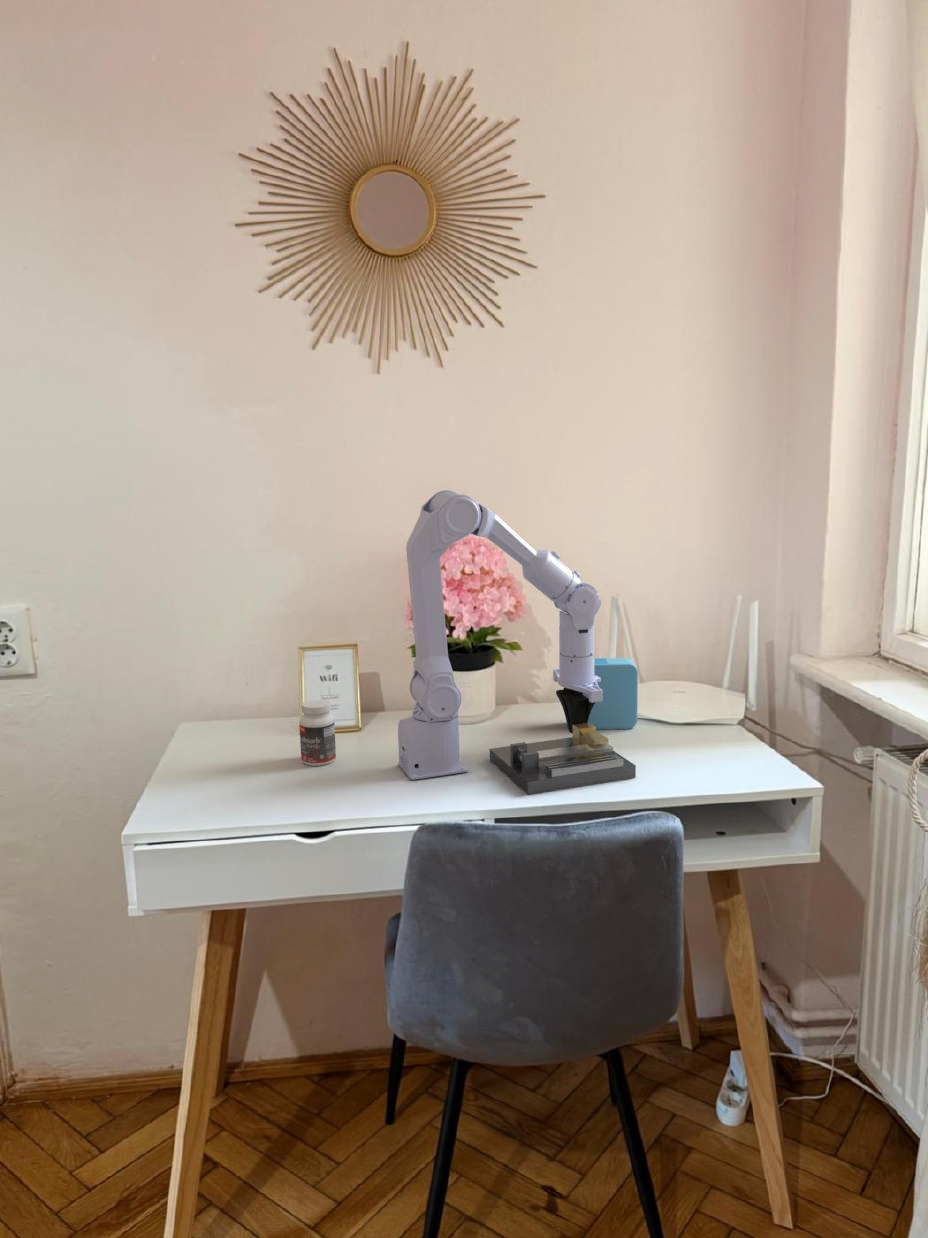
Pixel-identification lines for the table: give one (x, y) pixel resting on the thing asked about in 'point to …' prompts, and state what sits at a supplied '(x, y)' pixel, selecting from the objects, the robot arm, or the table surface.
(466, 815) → the table surface
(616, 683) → the data package
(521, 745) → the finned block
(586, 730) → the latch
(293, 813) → the table surface
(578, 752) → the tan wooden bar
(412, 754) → the robot arm
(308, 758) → the pill bottle
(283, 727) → the table surface
